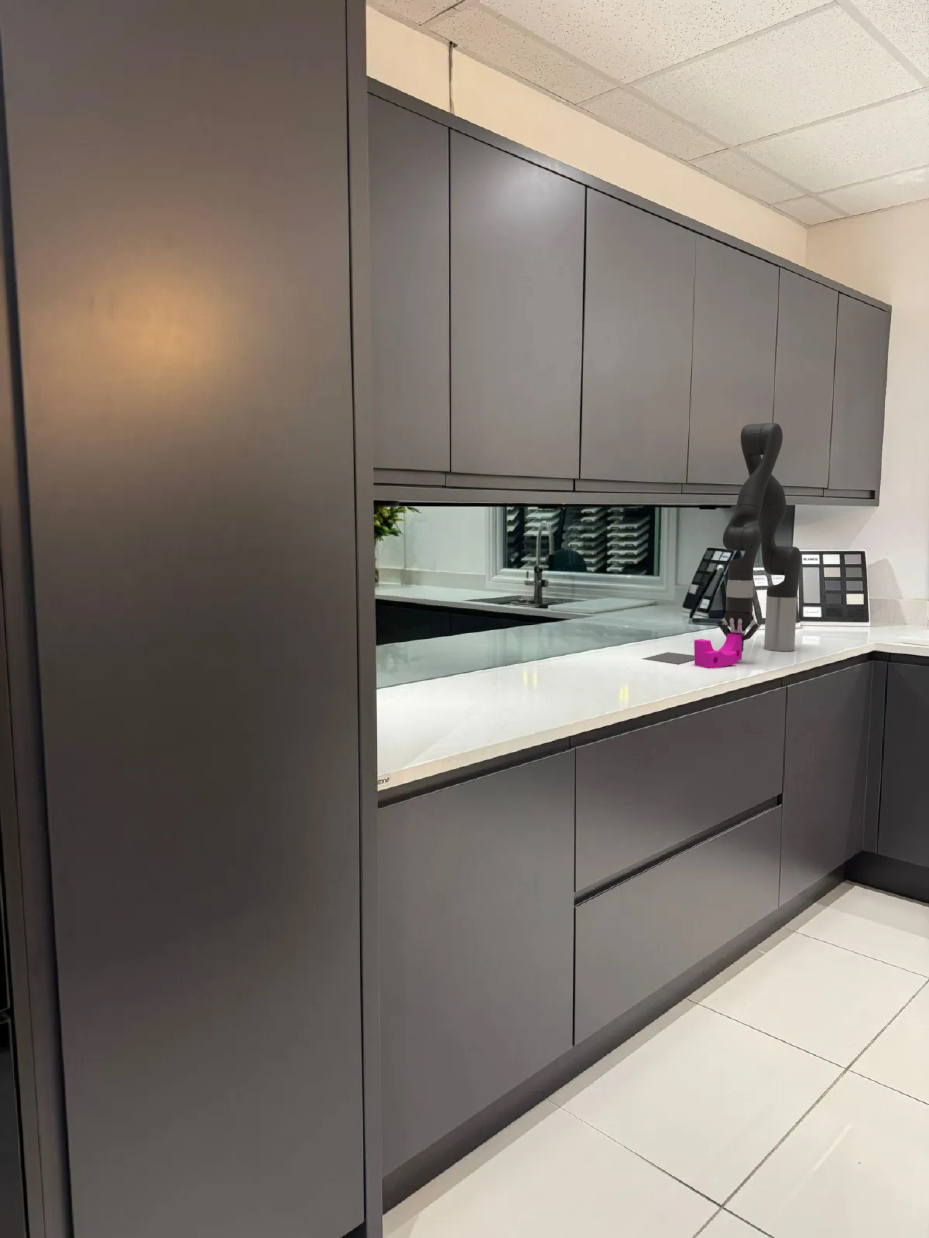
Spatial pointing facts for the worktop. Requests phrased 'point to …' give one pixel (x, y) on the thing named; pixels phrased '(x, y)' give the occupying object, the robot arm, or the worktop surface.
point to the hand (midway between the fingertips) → (737, 653)
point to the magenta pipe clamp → (718, 652)
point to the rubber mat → (671, 658)
